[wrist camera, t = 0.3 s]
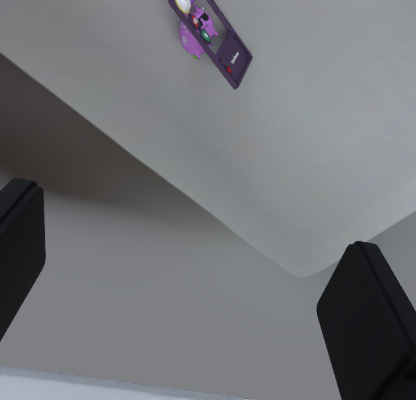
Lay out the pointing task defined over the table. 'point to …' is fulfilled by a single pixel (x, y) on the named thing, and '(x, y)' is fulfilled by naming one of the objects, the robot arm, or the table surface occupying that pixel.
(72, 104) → the table surface
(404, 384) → the robot arm
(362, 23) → the table surface
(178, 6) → the game card
